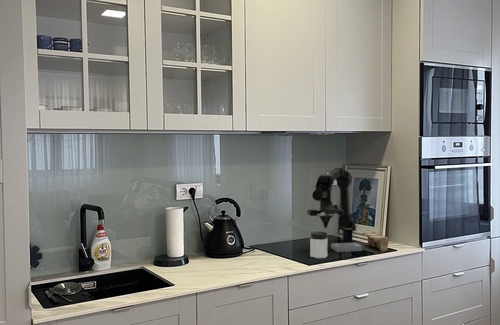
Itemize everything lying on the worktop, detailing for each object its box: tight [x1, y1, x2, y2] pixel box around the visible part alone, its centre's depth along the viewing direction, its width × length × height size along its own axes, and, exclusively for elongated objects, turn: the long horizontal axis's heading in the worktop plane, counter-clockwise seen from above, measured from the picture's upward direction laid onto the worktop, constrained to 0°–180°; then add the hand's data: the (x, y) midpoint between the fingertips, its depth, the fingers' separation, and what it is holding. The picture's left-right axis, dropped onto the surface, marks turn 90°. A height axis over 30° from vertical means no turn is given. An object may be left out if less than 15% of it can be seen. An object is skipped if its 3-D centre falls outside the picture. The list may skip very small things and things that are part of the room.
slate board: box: [330, 242, 363, 253], centre depth 268 cm, size 9×14×3 cm, turn 101°
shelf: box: [362, 231, 389, 252], centre depth 272 cm, size 16×7×7 cm, turn 12°
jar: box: [309, 231, 328, 259], centre depth 252 cm, size 9×8×12 cm
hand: (325, 228), depth 265 cm, fingers closed
